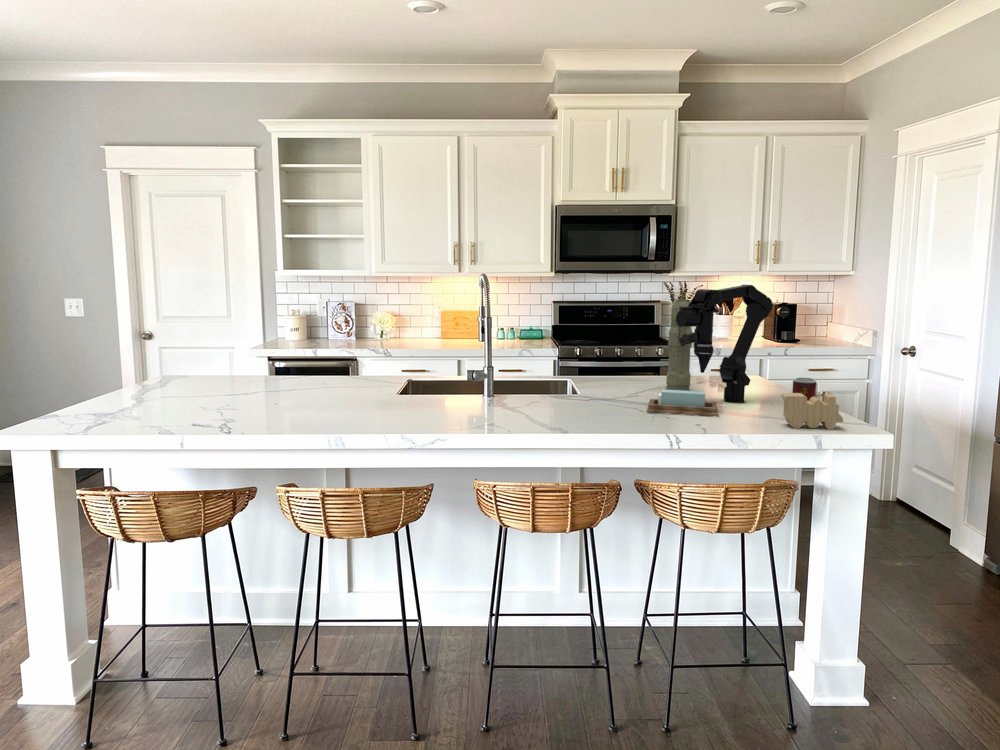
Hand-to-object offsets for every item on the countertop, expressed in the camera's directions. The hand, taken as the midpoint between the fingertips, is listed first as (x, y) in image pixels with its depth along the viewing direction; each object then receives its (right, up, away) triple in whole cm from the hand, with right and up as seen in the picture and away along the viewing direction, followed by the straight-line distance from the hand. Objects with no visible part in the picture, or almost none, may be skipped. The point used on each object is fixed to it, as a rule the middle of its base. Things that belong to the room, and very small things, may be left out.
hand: (702, 370), depth 250 cm
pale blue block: (-9, -13, -9) cm, 18 cm away
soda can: (+28, -15, -16) cm, 36 cm away
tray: (-9, -14, -9) cm, 19 cm away
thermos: (-1, -8, +28) cm, 29 cm away
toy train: (+24, -18, -31) cm, 43 cm away
